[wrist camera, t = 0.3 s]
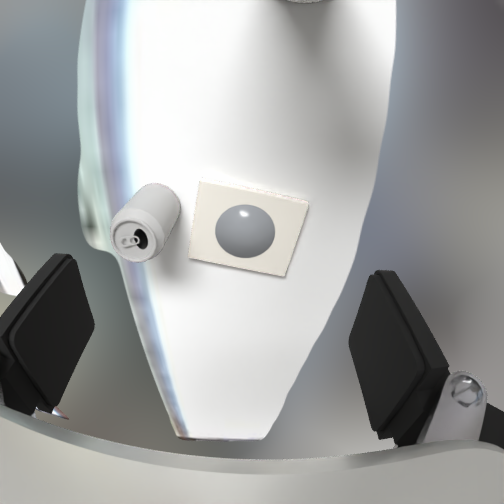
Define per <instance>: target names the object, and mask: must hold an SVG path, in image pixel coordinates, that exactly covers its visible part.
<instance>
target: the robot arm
mask: <svg viewBox="0 0 504 504" xmlns="http://www.w3.org/2000/svg"><path fill="white" fill-rule="evenodd" d="M288 1H291V2H298V3H312V2H318V1H322V0H288ZM94 325H95V324H94V319H93V316H92V313H91V310H90V307H89V304H88V300H87V297H86V294H85V290H84V287H83V283H82V280H81V276H80V273H79V269H78V265H77V262H76V260H75V259H73V257H72V256H71V255H69V254H57V253H56V254H54V255H53V256H52V257H51V258H50V259H49V260H48V261H47V262H46V263H45V264H44V265H43V266H42V268H41V269H40V270H39V271H38V272H37V273H36V274H35V275H34V277H33V278H32V279H31V280H30V281H29V282H28V283H27V285H26V286H25V287H24V288H23V289H22V291H21V292H20V293H19V294H18V295H17V297H16V298H15V299H14V300H13V301H12V303H11V304H10V305H9V306H8V308H7V309H6V310H5V312H4V313H3V314H2V315H1V317H0V504H504V412H503V411H501V410H499V409H498V408H496V407H494V406H492V405H490V404H488V403H487V391H486V388H485V386H484V385H483V383H482V381H481V380H480V379H479V378H478V377H476V376H475V375H473V374H472V373H469V372H466V371H456V372H453V373H452V374H450V372H449V370H448V367H449V364H448V362H447V360H446V359H445V357H444V355H443V353H442V351H441V349H440V347H439V345H438V344H437V342H436V340H435V338H434V336H433V334H432V333H431V331H430V329H429V327H428V326H427V324H426V322H425V320H424V319H423V317H422V315H421V313H420V312H419V310H418V309H417V307H416V305H415V303H414V302H413V300H412V298H411V297H410V295H409V293H408V292H407V290H406V288H405V287H404V285H403V284H402V282H401V281H400V279H399V277H398V276H397V274H396V273H395V272H394V271H387V270H377V271H376V272H375V273H374V275H370V276H369V279H368V282H367V285H366V288H365V292H364V294H363V298H362V301H361V304H360V307H359V310H358V313H357V316H356V319H355V322H354V325H353V328H352V331H351V333H350V336H349V348H350V351H351V355H352V358H353V362H354V365H355V369H356V372H357V376H358V379H359V383H360V386H361V390H362V393H363V397H364V401H365V405H366V409H367V412H368V416H369V420H370V424H371V428H372V430H373V431H377V434H378V438H379V440H381V439H387V438H392V437H393V439H394V443H395V446H394V448H393V449H389V450H382V451H376V452H369V453H362V454H353V455H344V456H334V457H323V458H309V459H286V460H252V459H227V458H212V457H202V456H192V455H183V454H175V453H168V452H162V451H156V450H150V449H145V448H139V447H134V446H129V445H125V444H120V443H116V442H112V441H107V440H103V439H99V438H95V437H92V436H88V435H85V434H81V433H77V432H74V431H71V430H68V429H65V428H62V427H58V426H55V425H53V424H50V423H47V422H44V421H41V420H39V419H36V416H35V412H34V411H35V409H36V406H37V408H38V409H39V410H42V411H45V412H47V413H50V414H52V411H53V409H54V406H57V405H58V404H59V402H60V400H61V398H62V396H63V393H64V391H65V389H66V387H67V384H68V382H69V380H70V378H71V376H72V373H73V371H74V369H75V367H76V365H77V363H78V361H79V359H80V357H81V354H82V353H83V350H84V349H85V347H86V345H87V343H88V341H89V339H90V337H91V335H92V333H93V330H94Z"/></svg>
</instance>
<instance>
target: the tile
mask: <svg viewBox="0 0 504 504" xmlns="http://www.w3.org/2000/svg"><path fill="white" fill-rule="evenodd" d="M308 206H309V204H308V202H307V201H304V200H300V199H296V198H292V197H287V196H283V195H279V194H275V193H270V192H266V191H262V190H257V189H253V188H248V187H243V186H239V185H234V184H229V183H225V182H220V181H215V180H210V179H205V178H201V179H200V182H199V188H198V193H197V199H196V205H195V211H194V218H193V224H192V231H191V237H190V244H189V251H188V258H193V259H198V260H203V261H207V262H212V263H217V264H222V265H227V266H232V267H237V268H242V269H247V270H252V271H257V272H262V273H268V274H273V275H278V276H283V277H284V276H285V273H286V270H287V268H288V265H289V262H290V259H291V256H292V253H293V250H294V248H295V245H296V242H297V239H298V236H299V233H300V230H301V227H302V224H303V221H304V218H305V215H306V212H307V209H308Z"/></svg>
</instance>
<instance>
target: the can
mask: <svg viewBox="0 0 504 504" xmlns="http://www.w3.org/2000/svg"><path fill="white" fill-rule="evenodd" d="M179 213H180V203H179V200H178V197H177V196H176V194H175V193H174V191H172V190H171V189H170V188H169V187H167V186H165V185H162V184H158V183H151V184H148V185H145V186H144V187H142V188H141V189H139V191H138V192H137V193H136V194H135V195H134V196H133V197H132V198H131V199H130V200H129V201H128V202H127V203H126V204H125V205H124V207H123V208H122V209H121V210H120V211H119V212H118V213H117V214H116V216H115V217H114V219H113V220H112V223H111V227H110V239H111V244H112V246H113V248H114V250H115V251H116V252H117V253H118V255H120V256H121V257H122V258H124V259H126V260H128V261H130V262H137V263H139V262H145V261H147V260H149V259H152V258H154V257H155V256H157V255H158V254H159V253H160V251H161V250H162V248H163V246H164V244H165V242H166V240H167V238H168V236H169V234H170V232H171V230H172V228H173V226H174V224H175V222H176V220H177V219H178V216H179Z"/></svg>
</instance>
